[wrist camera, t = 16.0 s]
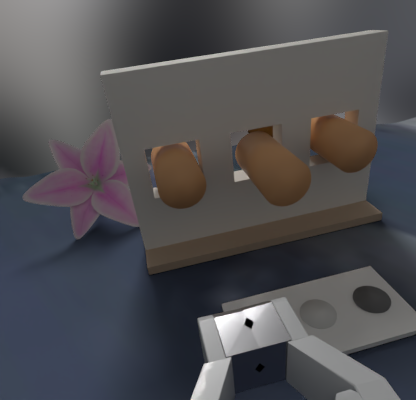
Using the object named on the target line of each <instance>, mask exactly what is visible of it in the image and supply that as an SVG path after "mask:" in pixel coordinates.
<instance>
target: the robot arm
mask: <svg viewBox="0 0 416 400" xmlns="http://www.w3.org/2000/svg"><path fill="white" fill-rule="evenodd" d="M197 322H198V328H199V334H200V341H201V346H202V351H203V357H204V361H205V364H203V367H202V370H201V373H200V375H199V378H198V381H197V383H196V386H195V389H194V392H193V394H192V397H191V400H234V399H235V394H236V393H240V392H243V391H246V390H249V389H252V388H256V387H259V386H262V385H266V384H270V383H274V382H278V381H282V380H286V381H287V382H288V383H289V384H290V385H292V386H293V387H294V388H295V389H296V390H297V391H299V392H300V393H301V394H302V395H303V396H304V397H305V398H307V399H308V400H400V398H399V397H398V396H397V394H396V393H395V391H394V390H393V389H392V387H391V386H390V384H389V383H388V382H387V380H386V379H385V378H384V377H382V376H381V375H379V374H377V373H376V372H374V371H372V370H371V369H369V368H367V367H366V366H364V365H362V364H361V363H359V362H357V361H356V360H354V359H352V358H351V357H349V356H347V355H346V354H344V353H342V352H341V351H339V350H337V349H336V348H334V347H332V346H331V345H329V344H327V343H325V342H324V341H322V340H320V339H319V338H317V337H315V336H314V335H311V336H308V334H307V332H306V331H305V329H304V327H303V326H302V324H301V322H300V320H299V319H298V317H297V315H296V314H295V312H294V310H293V308H292V307H291V305H290V303H289V302H288V300H287V299H286V298H285V297H282V298H278V299H274V300H270V301H265V302H261V303H258V304H254V305H250V306H246V307H242V308H240V309H235V310H231V311H226V312H222V313H217V314H213V315H209V316H204V317H200V318H197Z"/></svg>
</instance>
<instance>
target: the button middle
mask: <svg viewBox="0 0 416 400" xmlns="http://www.w3.org/2000/svg"><path fill="white" fill-rule="evenodd" d="M235 156H236V160H237V163H238V164H239V166H240V167H241V168H242V169H243V171H244V172H245V173H246V174H247V176H248V177H249V178H250V179H251V181H252V182H253V183H254V185H255V186H256V187H257V188H258V190H259V191H260V192H261V193H262V195H263V196H264V197H265V198H266V200H267V201H268V202H269V203H271V204H273V205H275V206H289V205H292V204H294V203H296V202H297V201H299V200H300V199H301V198H302V197H303V196H304V195H305V194H306V192H307V191H308V189H309V187H310V184H311V172H310V169H309V168H308V166H307V165H306V164H305V163H304V162H302V161H301V160H300V159H299V158H297V157H296V156H295V155H294V154H292V153H291V152H290V151H289V150H287V149H286V148H285V147H284V146H282V145H281V144H280V143H279V142H277V141H276V140H275V139H274V138H272V137H271V136H270V135H269V134H267V133H265V132H261V131H255V132H251V133H249V134H247V135H246V136H244V137H243V138H242V139H241V140H240V142H239V143H238V145H237V148H236V152H235Z"/></svg>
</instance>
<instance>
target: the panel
mask: <svg viewBox="0 0 416 400" xmlns="http://www.w3.org/2000/svg"><path fill="white" fill-rule="evenodd" d="M387 38H388V31H381V30H369V31H363V32H356V33H350V34H343V35H337V36H330V37H323V38H316V39H310V40H303V41H297V42H290V43H284V44H277V45H271V46H264V47H258V48H251V49H244V50H238V51H231V52H225V53H218V54H212V55H205V56H199V57H193V58H186V59H179V60H173V61H166V62H160V63H153V64H146V65H140V66H133V67H127V68H120V69H114V70H107V71H102V72H101V75H100V76H101V80H102V84H103V88H104V92H105V96H106V100H107V103H108V107H109V111H110V115H111V119H112V123H113V127H114V130H115V134H116V138H117V142H118V146H119V150H120V153H121V157H122V161H123V165H124V169H125V173H126V177H127V181H128V184H129V188H130V192H131V196H132V200H133V204H134V208H135V211H136V215H137V219H138V223H139V227H140V231H141V235H142V238H143V242H144V246H145V250H146V259H147V268H148V272H149V275H151V274H156V273H160V272H164V271H168V270H173V269H177V268H181V267H185V266H189V265H194V264H198V263H202V262H206V261H211V260H215V259H219V258H223V257H227V256H232V255H236V254H240V253H244V252H248V251H253V250H257V249H261V248H265V247H270V246H274V245H278V244H282V243H286V242H291V241H295V240H299V239H303V238H308V237H312V236H316V235H320V234H324V233H329V232H333V231H337V230H341V229H346V228H350V227H354V226H358V225H362V224H367V223H371V222H375V221H379V220H381V218H382V212H381V211H379V210H378V209H377V208H375V207H374V206H373V205H371V204H370V203H369V202H367V201H366V195H367V188H368V180H369V173H370V165H371V162H370V163H369V164H368V165H367V166H366V167H365V168H363V169H362V170H360V171H358V172H354V173H346V172H343V171H342V170H340V169H339V168H337V167H336V166H335V165H333V164H332V163H330V162H329V161H327V160H326V159H325V158H323V157H322V156H320V155H315V156H310V138H311V118H316V117H321V116H327V115H332V114H337V113H343V112H345V120H347V121H349V122H351V123H353V124H356V125H358V126H360V127H362V128H364V129H366V130H369V131H370V132H372V133H373V134H374V135H375V128H376V120H377V112H378V105H379V97H380V90H381V83H382V75H383V68H384V60H385V53H386V44H387ZM268 126H273V138H274V139H275V140H276V141H277V142H279V143H280V144H281V145H282V146H284V147H285V148H286V149H287V150H289V151H290V152H291V153H292V154H294V155H295V156H296V157H297V158H299V159H300V160H301V161H302V162H304V163H305V164H306V165H307V166H308V168H309V169H310V172H311V184H310V187H309V189H308V191H307V192H306V194H305V195H304V196H303V197H302V198H301V199H300V200H299V201H297V202H296V203H294V204H292V205H289V206H275V205H273V204H271V203H269V202H268V201H267V200H266V198H265V197H264V196H263V195H262V193H261V192H260V191H259V190H258V188H257V187H256V186H255V185H254V183H253V182H252V181H251V179H250V178H249V177H248V176H247V174H246V173H245V172H244V171H243V170H241V171H236V172H234V169H233V158H232V146H231V134H230V133H235V132H241V131H246V130H252V129H257V128H262V127H268ZM193 140H196V147H197V154H198V162H199V167H200V169H201V171H202V173H203V175H204V177H205V179H206V191H205V194H204V196H203V197H202V199H201V200H200V201H199V202H198V203H197V204H195V205H193V206H191V207H189V208H184V209H176V208H172V207H170V206H168V205H166V204H165V203H164V202H163V201H162V200H161V198H160V196H159V193H158V189H157V188H153V187H152V182H151V178H150V173H149V169H148V164H147V159H146V155H145V150H144V149H150V148H155V147H161V146H166V145H171V144H177V143H182V142H187V141H193Z"/></svg>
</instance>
